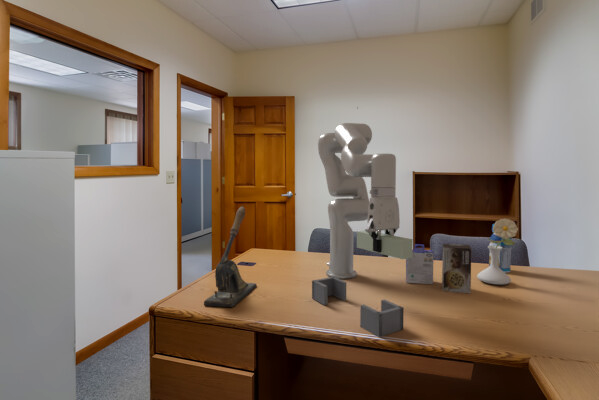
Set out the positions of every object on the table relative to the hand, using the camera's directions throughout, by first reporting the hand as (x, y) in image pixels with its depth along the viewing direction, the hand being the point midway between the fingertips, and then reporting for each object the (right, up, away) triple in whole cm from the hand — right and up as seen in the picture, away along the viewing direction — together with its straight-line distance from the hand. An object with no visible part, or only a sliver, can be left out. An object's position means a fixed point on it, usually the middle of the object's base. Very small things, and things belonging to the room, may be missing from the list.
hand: (382, 250), depth 110 cm
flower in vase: (+49, -16, +22) cm, 56 cm away
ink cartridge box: (+20, -16, +24) cm, 35 cm away
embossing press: (-50, -17, +10) cm, 53 cm away
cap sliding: (-17, -17, +5) cm, 25 cm away
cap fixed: (-4, -19, -16) cm, 25 cm away
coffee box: (+30, -17, +15) cm, 37 cm away
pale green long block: (0, -1, 0) cm, 1 cm away
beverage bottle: (+60, -15, +39) cm, 73 cm away
